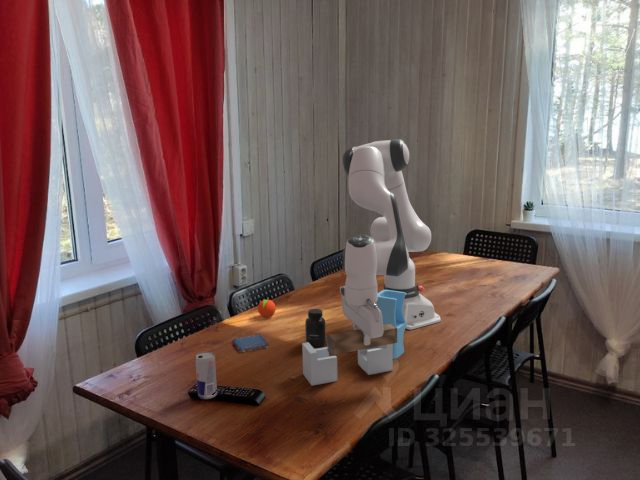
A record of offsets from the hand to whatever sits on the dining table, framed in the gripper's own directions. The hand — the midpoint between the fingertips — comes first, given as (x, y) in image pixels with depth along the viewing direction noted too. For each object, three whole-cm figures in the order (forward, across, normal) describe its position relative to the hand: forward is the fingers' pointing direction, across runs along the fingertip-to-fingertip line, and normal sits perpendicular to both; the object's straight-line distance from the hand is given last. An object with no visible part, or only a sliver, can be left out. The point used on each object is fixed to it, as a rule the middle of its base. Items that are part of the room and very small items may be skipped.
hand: (362, 341), depth 160 cm
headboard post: (+14, +10, -7) cm, 19 cm away
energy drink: (+14, +12, +43) cm, 46 cm away
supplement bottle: (+14, +34, +2) cm, 37 cm away
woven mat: (+15, +42, +24) cm, 50 cm away
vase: (+15, +18, -17) cm, 29 cm away
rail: (+2, 0, 0) cm, 2 cm away
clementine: (+14, +66, +11) cm, 69 cm away
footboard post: (+14, +10, +9) cm, 19 cm away
